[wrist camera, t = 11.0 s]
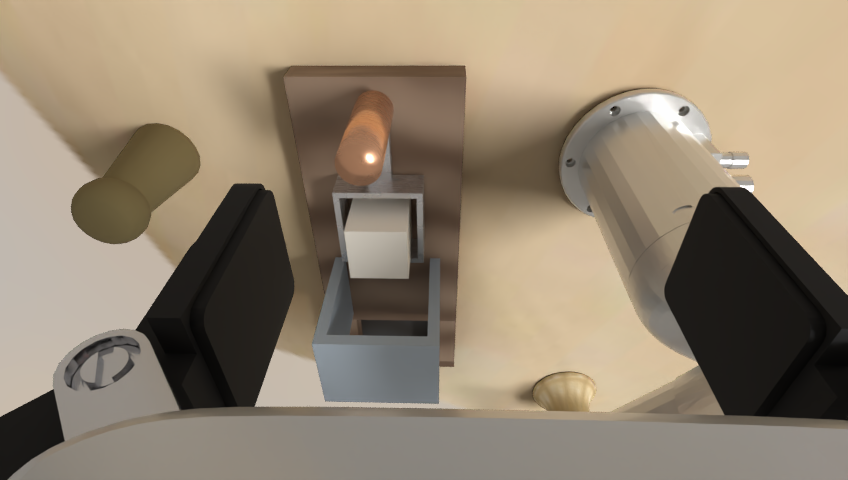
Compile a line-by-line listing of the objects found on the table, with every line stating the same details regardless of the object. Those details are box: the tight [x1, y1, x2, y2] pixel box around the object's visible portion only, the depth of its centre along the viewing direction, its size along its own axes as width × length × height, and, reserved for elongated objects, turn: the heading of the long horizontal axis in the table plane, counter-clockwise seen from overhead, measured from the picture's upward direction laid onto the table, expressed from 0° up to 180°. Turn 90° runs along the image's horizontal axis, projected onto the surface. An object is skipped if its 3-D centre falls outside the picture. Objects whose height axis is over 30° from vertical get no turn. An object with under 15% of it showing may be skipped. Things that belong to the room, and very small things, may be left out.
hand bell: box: [533, 372, 596, 412], centre depth 58 cm, size 8×8×16 cm
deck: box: [283, 66, 466, 367], centre depth 48 cm, size 35×14×2 cm, turn 1°
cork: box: [71, 123, 200, 244], centre depth 40 cm, size 6×6×11 cm
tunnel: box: [312, 257, 440, 404], centre depth 46 cm, size 8×10×11 cm
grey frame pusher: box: [332, 90, 425, 263], centre depth 38 cm, size 15×7×10 cm, turn 1°
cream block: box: [344, 198, 412, 279], centre depth 42 cm, size 5×5×6 cm
